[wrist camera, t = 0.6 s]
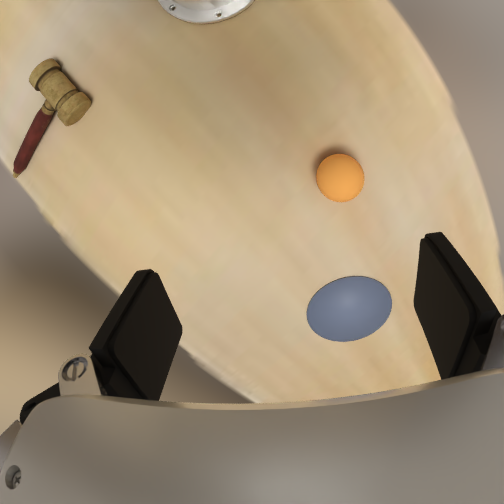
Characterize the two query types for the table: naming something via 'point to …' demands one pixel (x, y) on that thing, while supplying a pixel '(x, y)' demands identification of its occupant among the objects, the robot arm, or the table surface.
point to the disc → (349, 308)
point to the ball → (340, 178)
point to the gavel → (50, 107)
